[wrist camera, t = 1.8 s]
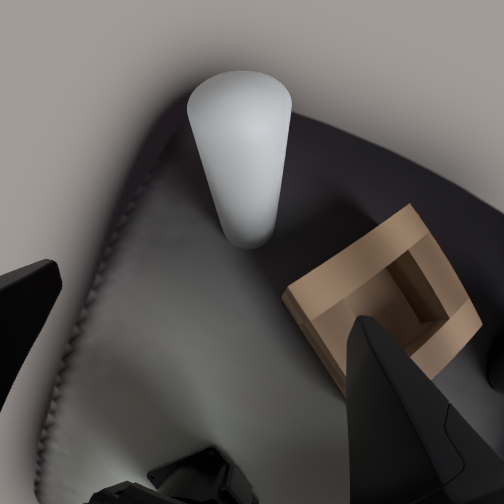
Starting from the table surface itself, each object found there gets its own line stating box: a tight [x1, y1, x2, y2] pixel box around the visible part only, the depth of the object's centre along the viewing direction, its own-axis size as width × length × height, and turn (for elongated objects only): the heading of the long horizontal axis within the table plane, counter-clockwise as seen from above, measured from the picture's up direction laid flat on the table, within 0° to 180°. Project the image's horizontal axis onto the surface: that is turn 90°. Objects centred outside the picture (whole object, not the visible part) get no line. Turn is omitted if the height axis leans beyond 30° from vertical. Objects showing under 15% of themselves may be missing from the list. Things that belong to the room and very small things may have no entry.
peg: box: [187, 71, 292, 249], centre depth 17 cm, size 4×4×13 cm
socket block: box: [281, 204, 483, 398], centre depth 18 cm, size 10×10×5 cm
